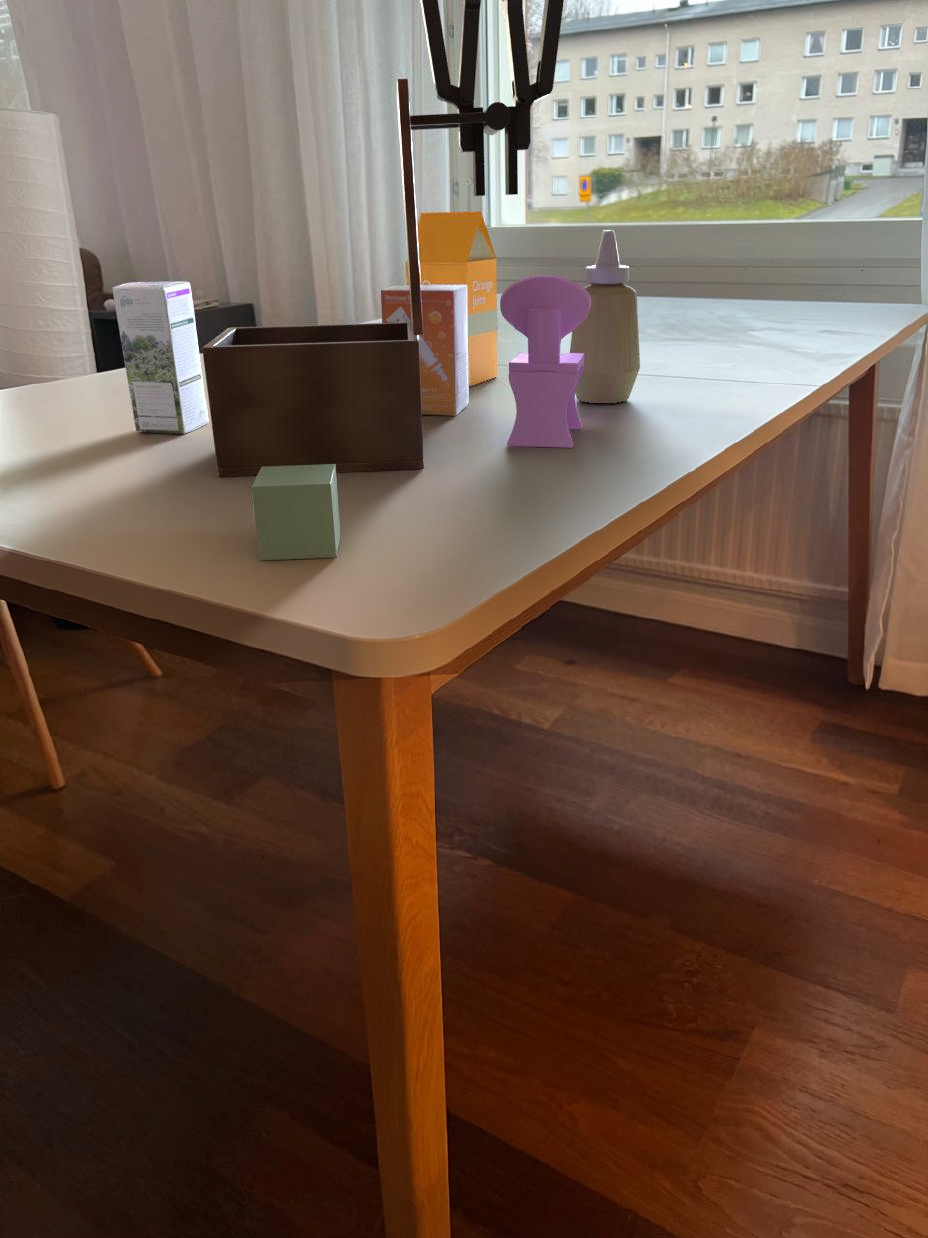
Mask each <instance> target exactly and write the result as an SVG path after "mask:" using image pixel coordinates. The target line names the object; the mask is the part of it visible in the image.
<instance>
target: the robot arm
mask: <svg viewBox="0 0 928 1238" xmlns="http://www.w3.org/2000/svg"><path fill="white" fill-rule="evenodd" d="M419 1H420V7H421V13H422V14H421V15H422V19H423V25H424V32H425V38H426V44H427V50H428V56H429V62H430V63H429V64H430V70H431V75H432V82H433V87H434V93H435V94H434V95H435V97H436V99H437V100H438V101H440V102H444V103H447V104H450V105H452V106H454V107H455V109H456V111H457V113H476V112H484V106H483V107H481V106H480V107H477V106H476V107H475V92H476V91H475V90H476V77H477V61H478V60H477V59H478V48H479V47H478V44H479V32H480V31H479V29H480V17H481V14H480V13H481V6H482V5H481V4H482V0H462V16H461V18H462V19H461V34H460V37H461V38H460V50H459V67H458V83H457V85H458V86H456V85H454V84H452V83H451V77H450V71H449V70H450V69H449V63H448V57H447V52H446V45H445V37H444V32H443V31H444V30H443V25H442V19H441V13H440V6H439V0H419ZM564 2H565V0H544V3H543V13H542V20H541V27H540V28H541V29H540V37H539V38H540V39H539V46H538V55H537V61H536V62H537V64H536V70H535V71H536V72H535V81H534V83H532V84H531V82H530V70H529V61H528V50H527V39H526V29H525V19H524V18H525V17H524V9H523V7H524V0H501V5H502V12H503V18H504V26H505V27H504V28H505V37H506V45H507V56H508V57H507V58H508V65H509V75H510V86H511V96H512V102H513V103H512V104H513V105H511V106H510V105H509V106H507V107H508V109H509V111H510V121H509V123H508V125H507V126H506V127H505V128H504V181H505V183H504V184H505V185H504V186H505V187H504V190H505V191H504V193H505V196H512V195H514V196H515V195H519V184H518V183H519V177H518V176H519V172H518V171H519V170H518V169H519V168H518V167H519V166H518V165H519V163H518V162H519V161H518V158H519V157H518V151H527V150H529V147H530V145H531V108H532V106H533V104H534V102H535V103H536V102H537V101H539V100H541V99H544V98H547V96H549V95H550V94H551V93H552V92H553V90H554V83H555V76H556V75H555V74H556V67H557V60H558V51H559V42H560V35H561V28H562V27H561V26H562V19H563V11H564ZM458 145H459V149H460V151H461V153H472V179H473V180H472V181H473V197H485V196H486V174H485V173H486V171H485V170H486V169H485V133H484V123H465V124H459V128H458Z"/></svg>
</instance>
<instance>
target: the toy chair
mask: <svg viewBox="0 0 928 1238" xmlns="http://www.w3.org/2000/svg"><path fill="white" fill-rule="evenodd" d="M583 287H584V286H582V285H580V284H578V282H576V281H573V280H571V279H568V278H565V277H562V276H559V275H558V276H557V275H552V274H551V275H549V274H547V275H545V274H542V275H541V274H540V275H539V274H538V275H532V276H531V275H530V276H528V277H525V278H522V279H519V280H518V281H516V282H513V283H512V284H511V285H509V286H508V287H507V288H505V290H503V292H502V294H501V295H500V299H499V310H500V313H501V316H502V317H503V319H505V321H506V322H507V323H508V324H510V325H511V326H512V327H513V328H514V330H516V331H517V332H519V333H520V334H522V335H523V336H524V337H526V338H527V352H519V353H517V354H516V356H515V357H514V358H513V359H511V360H510V361H509V362H508V382H509V386H510V388H511V391H512V394H513V398H514V402H515V408H516V413H515V420H514V424H513V426H512V430H511V433H510V435H509V438H508V439H507V443H506V446H507V447H530V448H531V447H532V448H533V447H534V448H570V449H571V448H575V447H574V446H575V445H574V441H573V439H572V436H571V432H570V430H582V429H583V426H582V423H581V419H580V417H579V414H578V409H577V404H576V394H575V391H576V387H577V384H578V381H579V379H580V377H581V375H582V372H583V369H584V353H570V352H567V353H561V343H562V340H563V339H564V338H565V337H566V336H568V335H569V334H572V331H574V330H576V329H577V327H578V326H579V325H580V324H581V323H582V322H583V321H584V320H585V319H586V317H587V316H588V313H589V310H590V307H591V298H590V295H589V293H588V291H587V290H586V289H584V288H583Z"/></svg>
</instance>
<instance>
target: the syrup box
mask: <svg viewBox="0 0 928 1238" xmlns="http://www.w3.org/2000/svg"><path fill="white" fill-rule="evenodd" d="M111 288H112V294H113V301H114V306H115V313H116V318H117V319H116V320H117V324H118V331H119V336H120V342H121V349H122V355H123V362H124V366H125V373H126V378H127V386H128V391H129V396H130V402H131V403H130V404H131V407H132V414H133V421H134V428H135V432H137V433H153V434H182V435H183V434H188V433H190V432H193V431H195V430H198V429H199V428H201V427H203V426H205V425H207V424H209V421H210V420H209V412H208V406H207V399H206V394H205V387H204V380H203V372H202V365H201V357H200V349H199V343H198V342H199V341H198V334H197V326H196V324H197V323H196V316H195V309H194V300H193V294H192V288H191V283H190V281H132V282H126V283H122V284H119V285H116V286H112V287H111Z"/></svg>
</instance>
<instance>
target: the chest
mask: <svg viewBox="0 0 928 1238" xmlns="http://www.w3.org/2000/svg"><path fill="white" fill-rule="evenodd" d="M201 350H202V359H203V365H204V373H205V381H206V391H207V397H208V407H209V413H210V420H211V428H212V430H211V431H212V437H213V445H214V452H215V461H216V468H217V474H218V477H219V478H231V477H233V478H234V477H257V475H258V473H259V471H260V469H261V467H270V466H297V465H323V464H335V467H336V474H337V473H359V472H360V473H361V472H364V473H365V472H388V471H390V472H391V471H413V470H424V469H425V468H424V467H425V465H424V461H425V460H424V439H423V438H424V437H423V414H422V410H421V385H420V360H419V340H418V335H414V334H413V326H412V322H397V323H382V322H367V323H339V324H338V323H337V324H336V323H335V324H333V323H332V324H308V325H306V324H305V325H304V324H303V325H299V324H298V325H272V326H271V325H269V326H238V327H237V326H236V327H235V326H233V327H228V328H226V329H225V330H224V331H222V332H221V333H220V334H219V335H217V336H216V337H215V338H213V339H212V340H210V341H209V342H208V343H207V344H205V345H204V346H203V347H202V348H201Z"/></svg>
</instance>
